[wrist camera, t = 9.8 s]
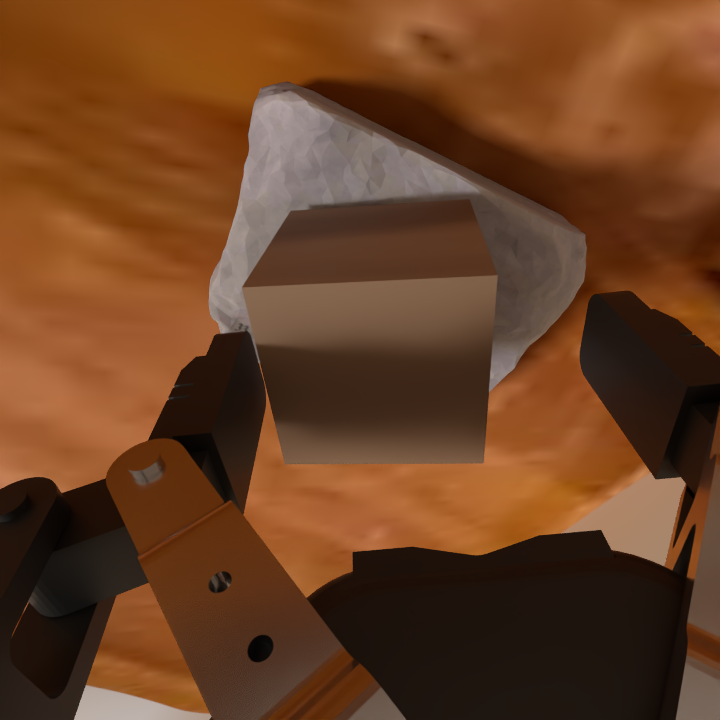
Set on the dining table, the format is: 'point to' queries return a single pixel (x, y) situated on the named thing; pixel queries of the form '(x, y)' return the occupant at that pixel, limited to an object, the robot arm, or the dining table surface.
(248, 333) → the robot arm
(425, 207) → the walnut cube
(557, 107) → the dining table surface
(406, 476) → the dining table surface
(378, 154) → the stone block
